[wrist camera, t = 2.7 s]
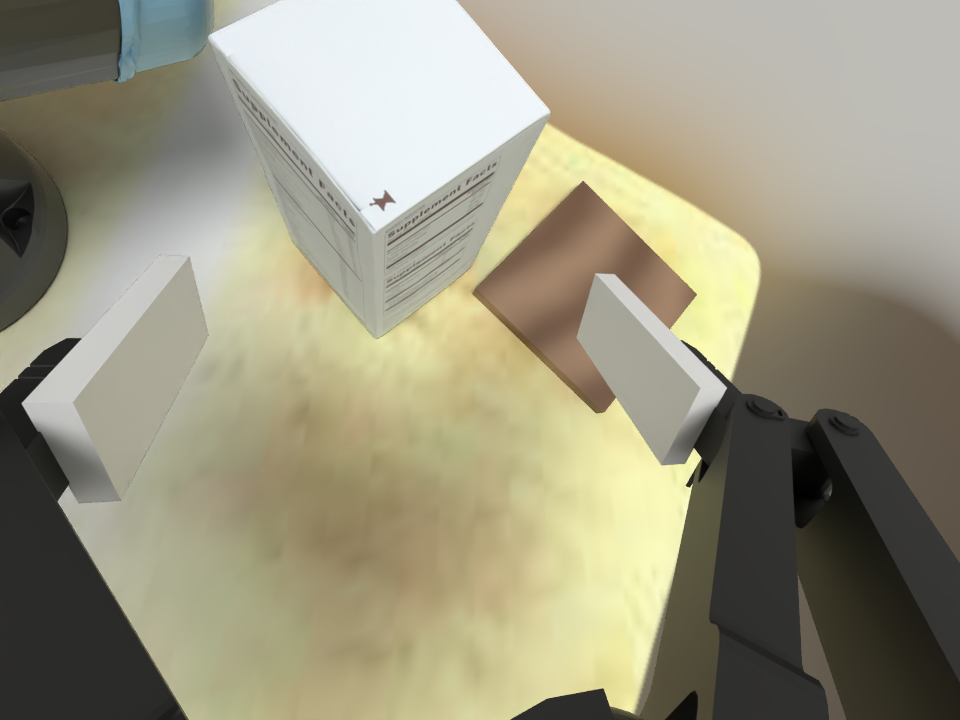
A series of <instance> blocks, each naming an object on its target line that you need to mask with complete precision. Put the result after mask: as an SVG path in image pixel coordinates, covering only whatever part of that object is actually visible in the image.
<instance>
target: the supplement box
mask: <svg viewBox="0 0 960 720" xmlns="http://www.w3.org/2000/svg"><path fill="white" fill-rule="evenodd" d="M208 41H209V43H210V46H211V48H212V50H213V53H214V55H215V57H216V60H217V62H218V64H219V67H220V69H221V71H222V74H223V76H224V78H225V81H226V83H227V86H228V88H229V90H230V93H231V95H232V97H233V100H234V102H235V104H236V107H237V109H238V111H239V114H240V116H241V118H242V121H243V123H244V125H245V128H246V130H247V132H248V134H249V137H250V139H251V141H252V143H253V145H254V147H255V150H256V152H257V154H258V156H259V158H260V160H261V163H262V165H263V168H264V171H265V175H266V178H267V180H268V183H269V185H270V188H271V190H272V192H273V195H274V197H275V199H276V202H277V204H278V207H279V209H280V211H281V214H282V216H283V218H284V221H285V223H286V226H287V228H288V231H289V233H290V236H291V238H292V241H293V243H294V244H295V245H296V246H297V248H298V249H299V250H300V251H301V253H302V254H303V255H304V256H305V258H306V259H307V260H308V261H309V262H310V263H311V265H312V266H313V267H314V268H315V269H316V270H317V272H318V273H319V274H320V275H321V276H322V277H323V278H324V280H325V281H326V282H327V283H328V284H329V285H330V286H331V288H332V289H333V290H334V291H335V292H336V293H337V295H338V296H339V297H340V298H341V299H342V300H343V302H344V303H345V304H346V305H347V306H348V308H349V309H350V310H351V311H352V312H353V313H354V315H355V316H356V317H357V318H358V319H359V320H360V322H361V323H362V324H363V325H364V326H365V328H366V329H367V330H368V331H369V332H370V333H371V334H372V336H373V337H374V338H376V339H378V338H380V337H381V336H383V335H384V334H386V333H387V332H388V331H390V330H391V329H392V328H394V327H395V326H396V325H398V324H399V323H400V322H402V321H403V320H404V319H406V318H407V317H408V316H410V315H411V314H412V313H414V312H415V311H416V310H418V309H419V308H420V307H421V306H423V305H424V304H425V303H427V302H428V301H429V300H431V299H432V298H433V297H435V296H436V295H437V294H438V293H440V292H441V291H442V290H444V289H445V288H446V287H447V286H449V285H450V284H451V283H453V282H454V281H455V280H456V279H458V278H459V277H460V276H461V275H463V274H464V273H465V272H466V271H468V270H469V269H470V268H471V266H472V264H473V262H474V260H475V258H476V256H477V254H478V252H479V250H480V248H481V246H482V244H483V243H484V241H485V239H486V237H487V235H488V233H489V231H490V229H491V227H492V226H493V224H494V221H495V219H496V218H497V216H498V214H499V212H500V210H501V208H502V206H503V204H504V202H505V200H506V199H507V197H508V195H509V193H510V191H511V189H512V187H513V185H514V183H515V181H516V179H517V177H518V176H519V174H520V172H521V170H522V168H523V166H524V164H525V162H526V160H527V158H528V156H529V154H530V153H531V151H532V149H533V147H534V145H535V143H536V141H537V139H538V137H539V135H540V134H541V132H542V130H543V128H544V126H545V124H546V122H547V120H548V118H549V116H550V110H549V109H548V107H547V106H546V105H545V104H544V103H543V102H542V101H541V100H540V98H539V97H538V96H537V95H536V94H535V93H534V91H532V89H531V88H530V87H529V86H528V84H527V83H526V82H525V81H524V80H523V79H522V77H521V76H520V75H519V74H518V73H517V71H516V70H515V69H514V68H513V67H512V66H511V64H510V63H509V62H508V61H507V60H506V59H505V57H504V56H503V55H502V54H501V53H500V51H498V49H497V48H496V47H495V46H494V44H493V43H492V42H491V41H490V40H489V38H488V37H487V36H486V35H485V34H484V32H483V31H482V30H481V29H480V28H479V27H478V25H477V24H476V23H475V22H474V21H473V19H472V18H471V17H470V16H469V15H468V13H467V12H466V11H465V10H464V9H463V8H462V7H461V6H460V5H459V3H458V2H457V1H456V0H280V1H277V2H275V3H273V4H271V5H269V6H267V7H265V8H263V9H261V10H259V11H256V12H254V13H252V14H250V15H248V16H246V17H244V18H242V19H240V20H238V21H236V22H234V23H232V24H230V25H228V26H226V27H224V28H222V29H220V30H218V31H216V32H213V33H211V34H210V35H209V36H208Z"/></svg>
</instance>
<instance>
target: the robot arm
mask: <svg viewBox="0 0 960 720" xmlns="http://www.w3.org/2000/svg"><path fill="white" fill-rule="evenodd" d="M213 28H214V4H213V0H0V101H4V100H9V99H14V98H19V97H25V96H30V95H35V94H40V93H45V92H50V91H55V90H61V89H66V88H71V87H76V86H81V85H86V84H92V83H97V82H102V81H107V80H112V81H114V82H116V83H123V82H126V80H128V79H131V78H132V77H133V76H134V74H135V73H137V72H141V71H145V70H149V69H153V68H157V67H161V66H165V65H169V64H173V63H177V62H181V61H185V60H189V59H191V58H193V57H195V56H196V55H198V54H199V53H200V52H201V51H202V50H203V48H204V47H205V45H206V43H207V42H208V36H209V35H210V34H211V33H212V30H213ZM66 238H67V221H66V213H65V208H64V205H63V201H62V198H61V196H60V193H59V191H58V189H57V187H56V185H55V183H54V182H53V180H52V178H51V177H50V175H49V174H48V173H47V171H46V170H45V169H44V168H43V166H42V165H41V164H40V163H39V162H38V161H37V160H36V159H35V158H34V157H33V156H32V155H31V154H29V153H28V152H27V151H26V150H25V149H24V148H22V147H21V146H20V145H19V144H17V143H16V142H15V141H14V140H13V139H11V138H10V137H9V136H8V135H7V134H5V133H4V132H3V131H2V130H0V330H2V329H4V328H5V327H7V326H8V325H10V324H11V323H13V322H14V321H15V320H17V319H18V318H19V317H21V316H22V315H23V314H24V313H25V312H26V311H27V310H29V309H30V308H31V307H32V306H33V305H34V304H35V303H36V302H37V300H38V299H39V298H40V297H41V296H42V294H43V293H44V292H45V290H46V289H47V288H48V286H49V285H50V283H51V282H52V280H53V278H54V276H55V274H56V272H57V270H58V268H59V266H60V263H61V261H62V258H63V254H64V250H65V245H66ZM207 337H208V331H207V327H206V322H205V318H204V314H203V310H202V306H201V302H200V298H199V294H198V290H197V286H196V282H195V277H194V273H193V269H192V265H191V261H190V257H189V256H170V255H160V256H159V257H158V258H157V259H156V260H155V261H154V262H153V263H152V264H151V265H150V266H149V267H148V268H147V270H146V271H145V272H144V273H143V274H142V275H141V276H140V277H139V278H138V279H137V280H136V281H135V282H134V283H133V285H132V286H131V287H130V288H129V289H128V290H127V291H126V292H125V293H124V294H123V295H122V296H121V297H120V298H119V300H118V301H117V302H116V303H115V304H114V305H113V306H112V307H111V308H110V309H109V310H108V311H107V312H106V313H105V315H104V316H103V317H102V318H101V319H100V320H99V321H98V322H97V323H96V324H95V325H94V326H93V327H92V328H91V330H90V331H89V332H88V333H87V334H86V335H85V336H84V337H83V338H66V339H65V340H63V341H61V342H59V343H57V344H55V345H53V346H51V347H50V348H48V349H46V350H44V351H43V352H42V353H41V354H40V355H39V356H38V357H37V358H36V359H35V360H34V361H33V362H32V363H31V364H30V367H27V368H26V369H25V370H24V371H23V372H22V373H21V374H20V375H19V376H18V379H15V380H14V381H13V382H12V383H11V384H10V385H8V386H7V387H6V388H5V389H4V390H3V391H2V392H1V393H0V720H189V719H188V718H187V716H186V714H185V713H184V711H183V709H182V708H181V706H180V705H179V703H178V701H177V700H176V698H175V696H174V695H173V693H172V691H171V690H170V688H169V686H168V685H167V683H166V681H165V680H164V678H163V676H162V675H161V673H160V671H159V670H158V668H157V666H156V665H155V663H154V661H153V660H152V658H151V656H150V655H149V653H148V651H147V650H146V648H145V646H144V645H143V643H142V641H141V640H140V638H139V636H138V635H137V633H136V631H135V630H134V628H133V626H132V625H131V623H130V621H129V620H128V618H127V616H126V615H125V613H124V611H123V610H122V608H121V606H120V605H119V603H118V601H117V600H116V598H115V596H114V595H113V593H112V592H111V590H110V588H109V587H108V585H107V583H106V582H105V580H104V578H103V577H102V575H101V573H100V572H99V570H98V568H97V567H96V565H95V563H94V562H93V560H92V558H91V557H90V555H89V553H88V552H87V550H86V548H85V547H84V545H83V543H82V542H81V540H80V538H79V537H78V535H77V533H76V532H75V530H74V528H73V527H72V525H71V523H70V522H69V520H68V518H67V517H66V515H65V513H64V512H63V510H62V508H61V507H60V505H59V504H58V502H57V501H58V500H59V498H60V497H61V495H62V494H63V492H64V491H65V489H66V488H67V486H68V485H69V487H70V489H71V490H72V492H73V494H74V496H75V497H76V499H77V501H78V503H92V502H107V501H121V499H122V497H123V496H124V494H125V492H126V490H127V488H128V486H129V484H130V482H131V481H132V479H133V477H134V475H135V473H136V471H137V469H138V467H139V465H140V464H141V462H142V460H143V458H144V456H145V454H146V452H147V450H148V448H149V447H150V445H151V443H152V441H153V439H154V437H155V435H156V433H157V432H158V430H159V428H160V426H161V424H162V422H163V420H164V418H165V416H166V415H167V413H168V411H169V409H170V407H171V405H172V403H173V401H174V400H175V398H176V396H177V394H178V392H179V390H180V388H181V386H182V384H183V383H184V381H185V379H186V377H187V375H188V373H189V371H190V369H191V368H192V366H193V364H194V362H195V360H196V358H197V356H198V354H199V352H200V351H201V349H202V347H203V345H204V343H205V341H206V339H207ZM577 339H578V341H579V342H580V344H581V345H582V347H583V348H584V350H585V351H586V353H587V354H588V356H589V357H590V359H591V360H592V362H593V363H594V365H595V366H596V368H597V369H598V371H599V372H600V374H601V375H602V377H603V378H604V380H605V381H606V383H607V384H608V386H609V387H610V389H611V390H612V392H613V393H614V395H615V396H616V398H617V399H618V401H619V402H620V404H621V405H622V407H623V408H624V410H625V411H626V413H627V414H628V416H629V417H630V419H631V420H632V422H633V423H634V425H635V426H636V428H637V429H638V431H639V432H640V434H641V436H642V437H643V439H644V440H645V442H646V443H647V445H648V446H649V448H650V449H651V451H652V452H653V454H654V455H655V457H656V458H657V460H658V461H659V463H660V464H661V465H673V464H685V463H686V461H687V459H688V458H689V456H690V454H691V452H692V450H693V448H695V450H696V451H697V452H698V454H699V455H700V456H701V460H700V462H699V464H698V465H697V467H696V469H695V470H694V472H693V474H692V476H691V477H690V479H689V481H688V483H687V484H686V486H687V487H689V488H690V486H691V485H692V484H693V486H692V490H691V495H690V500H689V505H688V510H687V515H686V520H685V525H684V530H683V534H682V539H681V544H680V549H679V554H678V559H677V564H676V569H675V573H674V578H673V583H672V588H671V593H670V598H669V603H668V608H667V613H666V617H665V623H664V628H663V633H662V637H661V642H660V647H659V652H658V657H657V662H656V666H655V672H654V676H653V681H652V685H651V690H650V693H649V695H648V698H647V701H646V703H645V705H644V707H643V710H642V712H641V714H640V717H639V716H637V715H635V714H632V713H630V712H627V711H624V710H621V709H618V708H614V707H610V706H609V703H608V700H607V697H606V694H605V692H604V689H603V688H602V689H597V690H592V691H586V692H581V693H576V694H570V695H565V696H559V697H554V698H549V699H546V700H544V701H542V702H540V703H539V704H537V705H535V706H533V707H532V708H530V709H528V710H526V711H525V712H523V713H521V714H519V715H518V716H516V717H514V718H512V719H511V720H829V714H828V704H827V699H826V695H825V690H824V688H823V687H822V685H821V683H820V682H819V680H817V679H815V678H813V677H812V676H810V675H808V674H806V673H805V672H804V671H803V666H802V656H801V636H800V616H799V596H798V578H797V573H798V576H799V578H800V582H801V584H802V588H803V591H804V593H805V597H806V599H807V602H808V605H809V608H810V611H811V614H812V617H813V620H814V623H815V626H816V629H817V632H818V635H819V638H820V641H821V644H822V647H823V650H824V653H825V656H826V659H827V662H828V665H829V668H830V671H831V674H832V677H833V680H834V683H835V686H836V689H837V691H838V695H839V698H840V701H841V704H842V706H843V710H844V712H845V716H846V719H847V720H960V563H959V562H958V560H957V558H956V557H955V555H954V554H953V552H952V551H951V549H950V548H949V546H948V545H947V543H946V542H945V540H944V539H943V537H942V536H941V535H940V533H939V531H938V530H937V529H936V527H935V526H934V524H933V523H932V521H931V520H930V518H929V517H928V515H927V514H926V512H925V511H924V509H923V508H922V506H921V505H920V503H919V502H918V500H917V499H916V497H915V496H914V494H913V493H912V491H911V490H910V488H909V487H908V485H907V484H906V482H905V481H904V479H903V478H902V476H901V475H900V473H899V472H898V470H897V469H896V467H895V466H894V464H893V463H892V461H891V460H890V458H889V457H888V455H887V454H886V453H885V451H884V450H883V448H882V447H881V445H880V444H879V442H878V440H877V439H876V438H875V436H874V435H873V433H872V432H871V431H870V430H869V429H868V427H867V426H865V425H864V424H863V423H861V422H860V421H859V420H858V419H857V418H855V417H853V416H850V415H849V414H847V413H844V412H839V411H836V410H831V409H820V410H818V412H817V413H816V414H815V415H814V417H813V418H812V420H811V421H810V422H807V421H802V420H796V419H791V418H789V417H788V415H787V414H786V412H785V411H784V410H783V409H782V408H781V407H779V406H778V405H776V404H775V403H773V402H772V401H770V400H768V399H765V398H763V397H760V396H757V395H753V394H742V393H741V392H740V391H739V390H738V389H737V388H736V387H735V386H734V385H733V384H732V383H731V382H730V381H729V380H728V379H727V378H726V377H725V376H724V375H723V374H722V373H721V372H720V371H719V370H716V369H715V367H714V366H713V365H712V364H711V363H710V362H709V361H707V359H706V358H705V357H704V356H703V355H702V354H701V353H700V352H699V351H698V350H697V349H696V348H694V347H692V346H691V345H689V344H688V343H686V342H684V341H683V340H679V339H678V338H677V337H676V336H675V335H674V334H673V333H672V332H671V331H670V330H669V329H668V328H667V327H666V326H665V325H664V324H663V323H662V322H661V321H660V320H659V319H658V318H657V317H656V316H655V315H654V314H653V312H652V311H651V310H650V309H649V308H648V307H647V306H646V305H645V304H644V303H643V302H642V301H641V300H640V299H639V298H638V297H637V296H636V295H635V294H634V293H633V292H632V291H631V290H630V289H629V288H628V287H627V286H626V285H625V284H624V283H623V282H622V281H621V280H620V279H619V278H618V277H617V276H616V275H615V274H598V273H595V276H594V280H593V283H592V287H591V290H590V293H589V297H588V300H587V304H586V307H585V311H584V314H583V317H582V321H581V324H580V328H579V331H578V334H577ZM831 490H832V493H831V496H829V492H830V491H831Z"/></svg>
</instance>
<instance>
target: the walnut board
mask: <svg viewBox="0 0 960 720" xmlns="http://www.w3.org/2000/svg"><path fill="white" fill-rule="evenodd" d="M595 273H598V274H615V275H616V276H617V277H618V278H619V279H620V280H621V281H622V282H623V283H624V284H625V285H626V286H627V287H628V288H629V289H630V290H631V291H632V292H633V293H634V294H635V295H636V296H637V297H638V298H639V299H640V300H641V301H642V302H643V303H644V304H645V305H646V306H647V307H648V308H649V309H650V310H651V311H652V312H653V314H654V315H655V316H656V317H657V318H658V319H659V320H660V321H661V322H662V323H663V324H664V325H665V326H666V327H667V328H668V329H669V330H670V328H671V327H672V326H673V324H674V323H675V322H676V321H677V319H678V318H679V317H680V316H681V314H682V313H683V312H684V310H685V309H686V308H687V307H688V305H689V304H690V303H691V302H692V300H693V299H694V298H695V297H696V295H697V294H696V293H695V292H694V291H693V290H692V289H691V288H690V287H689V286H688V285H687V284H686V283H685V282H684V281H683V280H682V279H681V278H680V277H679V276H678V275H677V274H676V273H675V272H674V271H673V270H672V269H671V268H670V267H669V266H668V265H667V264H666V263H665V262H664V261H663V260H662V259H661V258H660V257H659V256H658V255H657V254H656V253H655V252H654V251H653V250H652V249H651V248H650V247H649V246H648V245H647V244H646V243H645V242H644V241H643V240H642V239H641V238H640V237H639V236H638V235H637V234H636V233H635V232H634V231H633V230H632V229H631V228H630V227H629V226H628V225H627V224H626V223H625V222H624V221H623V220H622V219H621V218H620V217H619V216H618V215H617V214H616V213H615V212H614V211H613V210H612V209H611V208H610V207H609V206H608V205H607V204H606V203H605V202H604V201H603V200H602V199H601V198H600V197H599V196H598V195H597V194H596V193H595V192H594V191H593V190H592V189H591V188H590V187H589V186H588V185H587V184H586V183H585V182H584V181H582V182H581V183H580V184H579V185H578V186H577V187H576V188H575V189H574V190H573V191H572V192H571V193H570V194H569V195H568V196H567V197H566V198H565V199H564V200H563V201H562V202H561V203H560V204H559V205H558V207H557V208H556V209H555V210H554V211H553V212H552V213H551V214H550V215H549V216H548V217H547V218H546V219H545V220H544V221H543V222H542V223H541V224H540V225H539V226H538V227H537V228H536V229H535V230H534V231H533V232H532V233H531V234H530V235H529V236H528V237H527V238H526V239H525V240H524V241H523V242H522V243H521V244H520V245H519V246H518V247H517V248H516V249H515V250H514V251H513V252H512V253H511V254H510V255H509V256H508V257H507V258H506V259H505V260H504V261H503V262H502V263H501V264H500V265H499V266H498V267H497V268H496V269H495V270H494V271H493V272H492V273H491V274H490V275H489V276H488V277H487V278H486V279H485V280H484V281H483V282H482V283H481V284H480V285H479V286H478V287H477V288H476V289H475V291H474V292H473V295H474V296H475V297H477V298H478V299H479V300H480V301H481V302H482V303H483V304H484V305H485V306H486V307H487V308H488V309H489V310H490V311H491V312H492V313H493V314H494V315H495V316H496V317H497V318H498V319H499V320H500V321H501V322H502V323H503V324H504V325H506V326H507V327H508V328H509V329H510V330H511V331H512V332H513V333H514V334H515V335H516V336H517V337H518V338H519V339H520V340H521V341H522V342H523V343H524V344H525V345H526V346H527V347H528V348H529V349H530V350H531V351H532V352H533V353H535V354H536V355H537V356H538V357H539V358H540V359H541V360H542V361H543V362H544V363H545V364H546V365H547V366H548V367H549V368H550V369H551V370H552V371H553V372H554V373H555V374H556V375H557V376H558V377H559V378H560V379H561V380H563V381H564V382H565V383H566V384H567V385H568V386H569V387H570V388H571V389H572V390H573V391H574V392H575V393H576V394H577V395H578V396H579V397H580V398H581V399H582V400H583V401H584V402H585V403H586V404H587V405H588V406H589V407H590V408H592V409H593V410H594V411H595V412H596V413H603V412H605V411H606V409H607V408H608V407H609V406H610V404H611V403H612V402H613V401H614V399H615V398H616V396H615V395H614V393H613V392H612V390H611V389H610V387H609V386H608V384H607V383H606V381H605V380H604V378H603V377H602V375H601V374H600V372H599V371H598V369H597V368H596V366H595V365H594V363H593V362H592V360H591V359H590V357H589V356H588V354H587V353H586V351H585V350H584V348H583V347H582V345H581V344H580V342H579V341H578V339H577V334H578V331H579V328H580V324H581V321H582V317H583V314H584V311H585V307H586V304H587V300H588V297H589V293H590V290H591V287H592V283H593V280H594V276H595Z"/></svg>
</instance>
